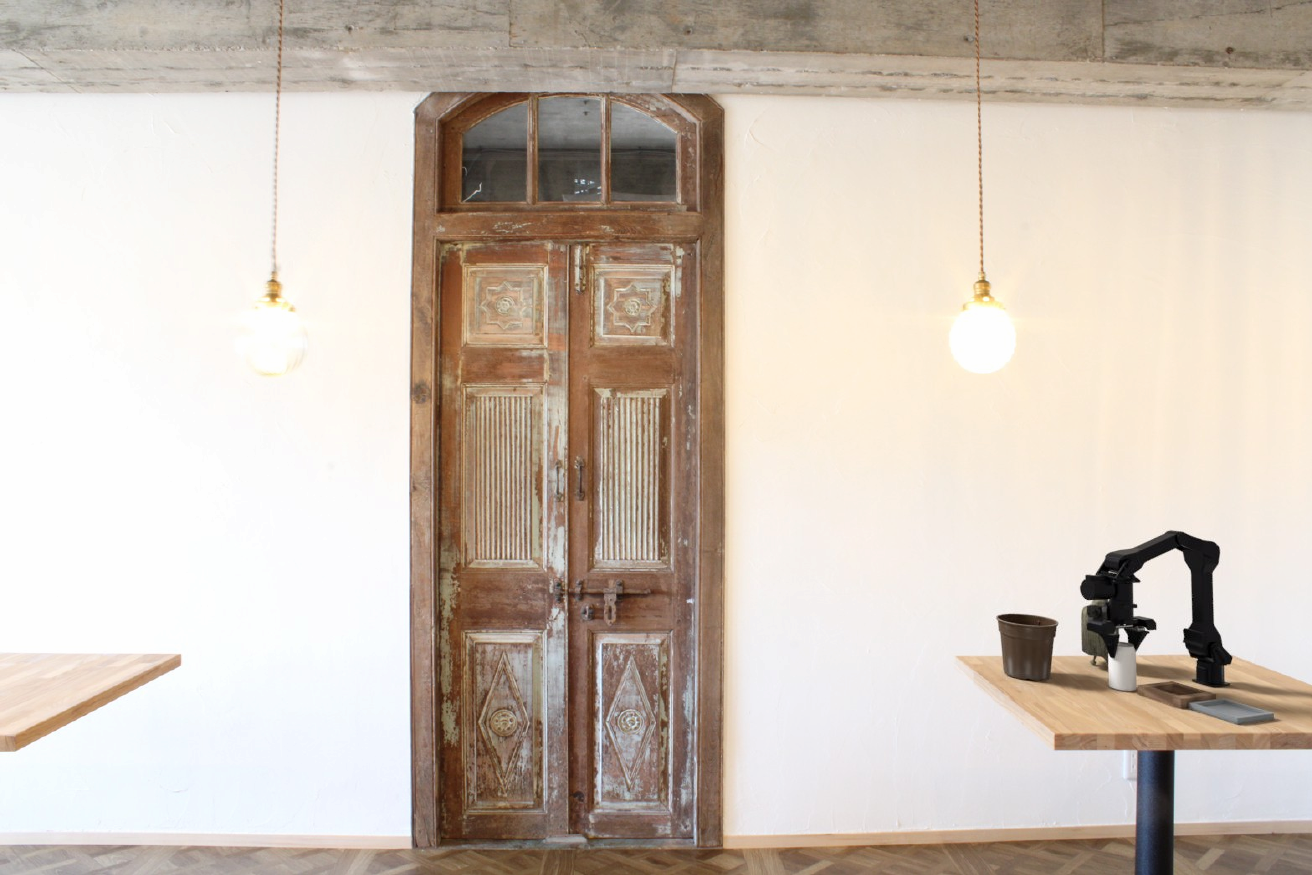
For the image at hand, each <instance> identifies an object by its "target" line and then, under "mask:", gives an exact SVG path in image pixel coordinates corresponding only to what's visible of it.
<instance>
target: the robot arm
mask: <svg viewBox="0 0 1312 875" xmlns="http://www.w3.org/2000/svg"><path fill="white" fill-rule="evenodd" d="M1175 549H1176V550H1177V551H1179V552H1181V553H1182V555H1183V560H1184V562H1185V564H1186V565H1187V567H1188V569H1189V570H1190V585H1191V586H1190V588H1191V592H1190V593H1191V623H1190V625H1189V626H1188V627H1187V628H1183V630H1182V633H1183V639H1182V643H1183V644H1184V645H1185V649H1187V651H1188V654H1189V656H1190V658H1192V659H1197V660H1196V666H1195V674H1196V675H1195V676H1196V677H1195V678H1191V682H1194V683H1197V684H1202V685H1203V686H1204V685H1205V686H1208V687H1211V688H1217V687H1224V686H1225V687H1226V686H1227V687H1228V686H1230V685H1231V683H1230V682H1227V681H1225V666H1228V665H1229V666H1230V665H1231V664H1232V661H1233V656H1232V655H1231V653H1229V651H1228V650H1227V649H1226V648H1224V646H1223V641H1222V635H1221V634H1220V632H1219V630H1218V629H1217V627H1216V626H1215V619H1214V618H1215V617H1214V616H1215V614H1214V613H1215V612H1214V611H1215V610H1214V608H1215V607H1214V576H1213V574H1214V572H1215V569H1216V568H1217V567H1218V566H1219V564H1220V556H1221V548H1220V546H1219V545H1218V544H1217V543H1216V542H1215V541H1212V540H1206V539H1201V538H1199V537H1196V536H1194V535H1191V534H1189V533H1186V532H1184V531H1182V530H1181V531H1179V530H1172V529H1170V530H1166V531H1165V533H1162V534H1160V535H1158V536H1156V537H1153V538H1152V539H1149V540H1148V541H1145V542H1143V543H1141V544H1139V545H1136V546H1134V547H1132V548H1131V547H1130V548H1127V549H1126V548H1125V549H1119V550H1114V551H1110V552H1108V553H1106V554H1105V557H1104V560H1103V561H1102V563H1101V565H1100V566H1099V568H1098V569H1097V571H1096V573H1095V574H1094V575H1093V574H1085V576H1084V577H1085V578H1084V579H1083V580H1082V581H1081V584H1080V586H1079V591H1080V594H1081V596H1082V598H1083V599H1084V600H1086V601H1093V600H1108V601H1106V602H1105V606H1104V607H1101V608H1098V607H1097V606H1096V605H1090V604H1089V605H1090V606H1087V605H1086V606H1087V615H1088V617H1092V618H1093V620H1089V621H1088V622H1087V630H1089V631H1092V632H1095V633H1097V634H1099V635H1100V636H1101V637H1102V639H1103V641H1104V643H1105V645H1106V648H1107V650H1108V653H1109V656H1110V657H1111V658H1115V655H1116V651H1117V646H1118V642H1120V638H1121V637H1120V636H1121V634H1120V633H1119V634H1116V629H1119V630H1120V629H1123V630H1124V631H1125V633H1126V635H1127V643H1131V644H1133V645H1134V649H1135V651H1136V652H1137V651H1138V650H1139V647H1140V646H1141V644H1142V643H1143V642H1144V640H1145V639H1146V637H1147V636H1148V635H1149V634H1150V631H1157V622H1156V621H1155V620H1154V618H1151V617H1145V616H1141V615H1135V614H1134V612H1135V611H1134V609H1138V604H1137V603H1134V584H1140V583H1141V580H1140V579H1139V578H1138V577H1137V576H1136V575H1135V574H1136V573H1137V572H1138V571H1140V570H1141V569H1142V568H1143V566H1144V564H1146V563H1147V562H1149V561H1151V560H1153V559H1156V558H1158V557H1160V556H1162V555H1164V554H1166V553H1168V552H1170V551H1172V550H1175ZM1104 620H1105V621H1104ZM1108 621H1110V622H1108Z"/></svg>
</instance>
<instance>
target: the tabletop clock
mask: <svg viewBox="0 0 1312 875" xmlns="http://www.w3.org/2000/svg"><path fill="white" fill-rule="evenodd" d="M1106 601H1109V600H1091V604H1088V605H1085V606H1083V607H1082V609H1081V615H1080V616H1081V617H1080V618H1081V619H1080V624H1081V626H1080V627H1081V628H1080V629H1081V630H1080V632H1081V633H1080V634H1081V652H1083V653H1085V654H1087V655H1088V656H1091V657H1092V659H1091V660H1090V662H1089V663H1090V664H1091V666H1096V665H1097V661H1096V659H1097V657H1098V658H1099V657H1100V658H1102V659H1103V660H1104V661H1105V662H1106V665H1107V667H1106V668H1107V670H1108V672H1109V668H1108V650H1107V648H1106V645H1105V643H1104V641H1103V639H1102V637H1101V636H1100V635H1099V634H1097V633H1095V632H1092V631H1089V630H1087V622H1088V621H1089V620H1093V618H1092V617H1088V615H1087V606H1090V605H1096V606H1097V607H1098V608H1101V607H1104V606H1105V602H1106ZM1104 621H1105V620H1104ZM1108 622H1110V621H1108ZM1116 634H1119V635H1120V629H1116Z"/></svg>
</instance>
